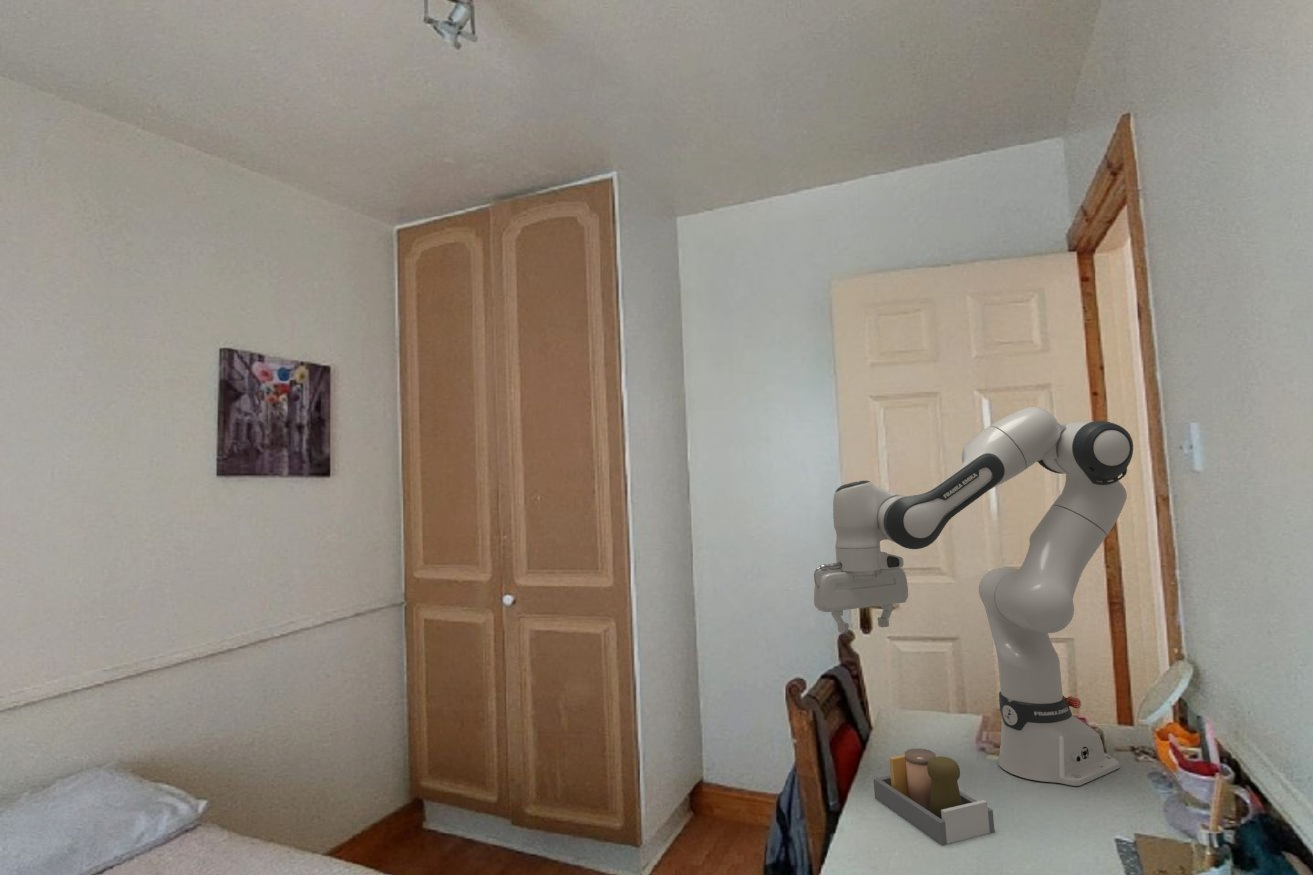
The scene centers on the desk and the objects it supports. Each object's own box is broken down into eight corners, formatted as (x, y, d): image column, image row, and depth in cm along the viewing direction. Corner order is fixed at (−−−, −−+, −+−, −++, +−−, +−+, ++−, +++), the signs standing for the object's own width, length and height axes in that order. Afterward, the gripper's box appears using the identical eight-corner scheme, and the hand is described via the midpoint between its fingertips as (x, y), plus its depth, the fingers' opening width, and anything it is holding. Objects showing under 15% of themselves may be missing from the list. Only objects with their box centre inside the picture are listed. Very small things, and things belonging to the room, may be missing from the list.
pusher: (927, 794, 127) (923, 750, 128) (930, 796, 126) (927, 752, 127) (892, 802, 125) (889, 757, 125) (896, 804, 124) (892, 759, 125)
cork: (972, 835, 113) (966, 766, 114) (933, 834, 114) (927, 766, 115) (962, 817, 119) (956, 752, 119) (925, 816, 120) (920, 752, 120)
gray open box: (922, 790, 131) (920, 760, 131) (994, 835, 114) (991, 800, 114) (875, 801, 128) (872, 770, 128) (942, 849, 110) (939, 813, 111)
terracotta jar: (926, 800, 126) (922, 746, 126) (946, 812, 121) (942, 756, 121) (902, 806, 124) (898, 751, 125) (922, 819, 119) (917, 762, 120)
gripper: (821, 566, 135) (827, 638, 134) (910, 557, 141) (915, 626, 140) (805, 563, 141) (810, 632, 140) (891, 555, 147) (896, 620, 146)
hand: (863, 629), depth 140 cm, fingers open, 8 cm apart
